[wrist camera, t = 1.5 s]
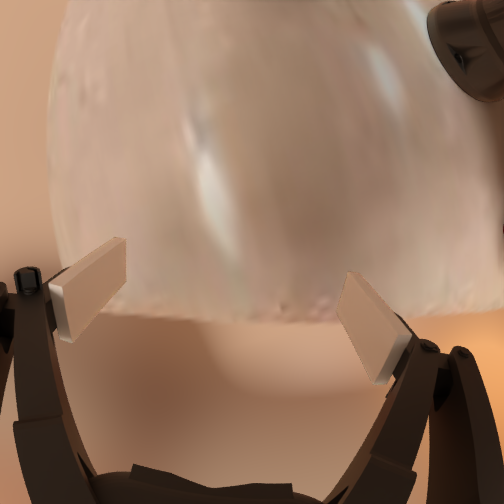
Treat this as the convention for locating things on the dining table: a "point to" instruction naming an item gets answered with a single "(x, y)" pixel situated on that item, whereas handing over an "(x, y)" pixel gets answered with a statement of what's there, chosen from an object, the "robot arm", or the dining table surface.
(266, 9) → the dining table surface
